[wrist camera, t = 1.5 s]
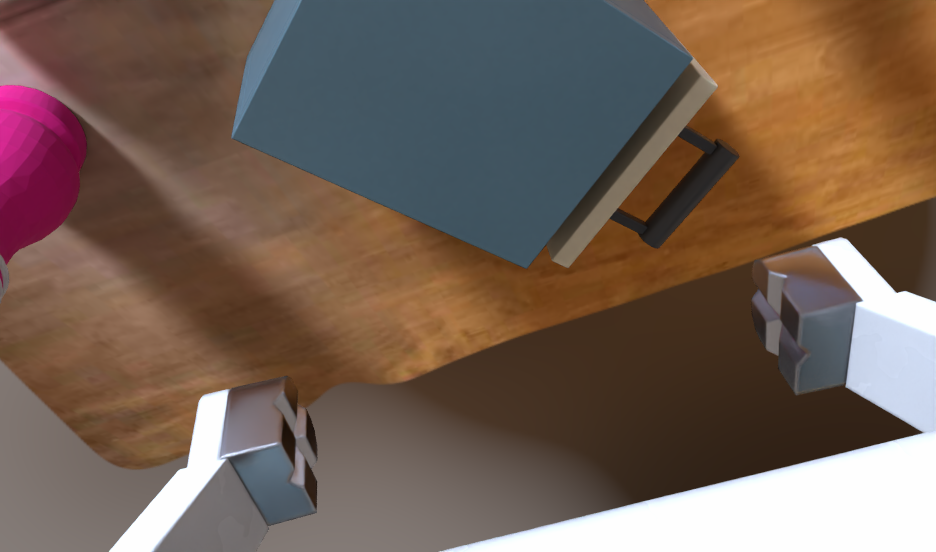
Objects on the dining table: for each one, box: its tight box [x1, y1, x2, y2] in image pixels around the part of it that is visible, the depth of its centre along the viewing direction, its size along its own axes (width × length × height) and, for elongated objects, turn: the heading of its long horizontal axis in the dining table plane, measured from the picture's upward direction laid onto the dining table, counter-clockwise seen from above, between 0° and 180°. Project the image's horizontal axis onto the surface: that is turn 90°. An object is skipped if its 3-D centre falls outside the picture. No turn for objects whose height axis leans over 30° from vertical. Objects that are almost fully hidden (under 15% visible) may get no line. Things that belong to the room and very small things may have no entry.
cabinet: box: [231, 0, 693, 269], centre depth 41 cm, size 17×14×9 cm
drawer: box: [546, 32, 739, 268], centre depth 44 cm, size 21×13×7 cm, turn 57°
